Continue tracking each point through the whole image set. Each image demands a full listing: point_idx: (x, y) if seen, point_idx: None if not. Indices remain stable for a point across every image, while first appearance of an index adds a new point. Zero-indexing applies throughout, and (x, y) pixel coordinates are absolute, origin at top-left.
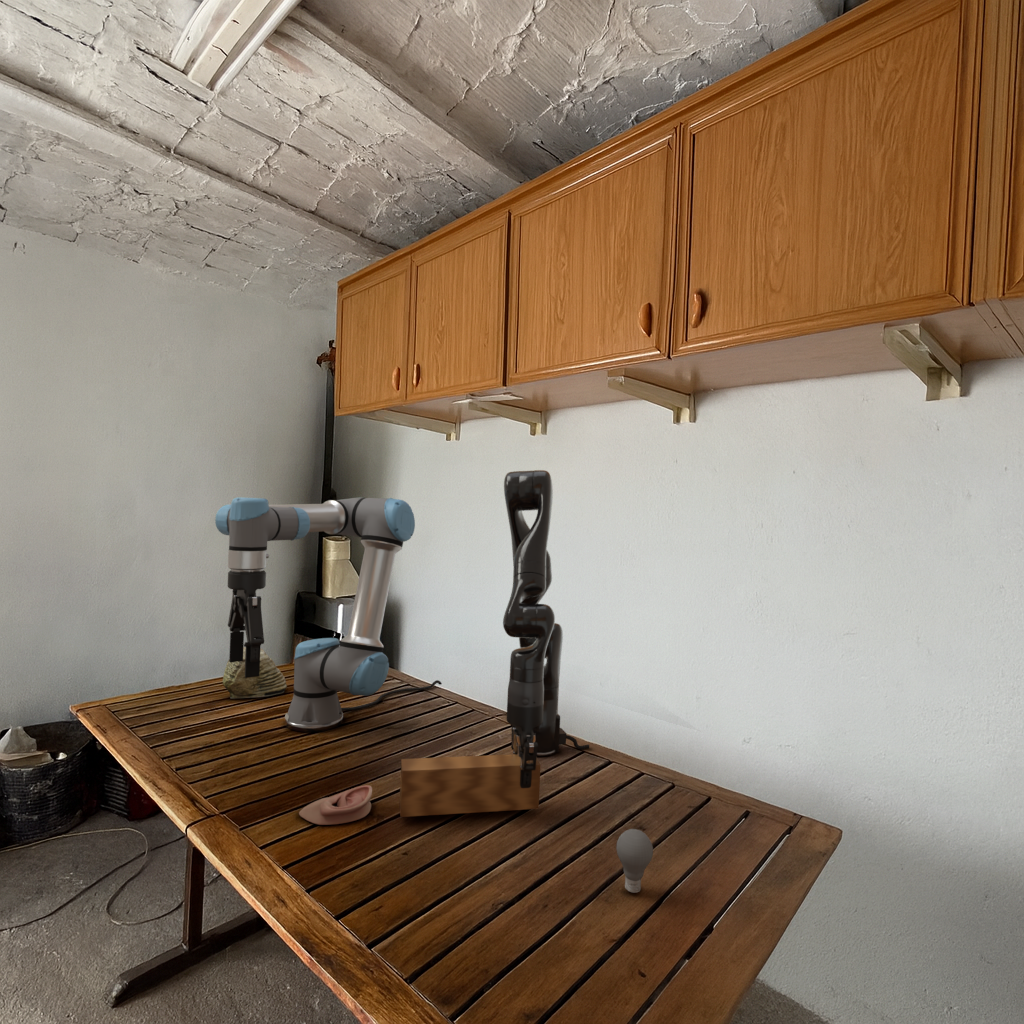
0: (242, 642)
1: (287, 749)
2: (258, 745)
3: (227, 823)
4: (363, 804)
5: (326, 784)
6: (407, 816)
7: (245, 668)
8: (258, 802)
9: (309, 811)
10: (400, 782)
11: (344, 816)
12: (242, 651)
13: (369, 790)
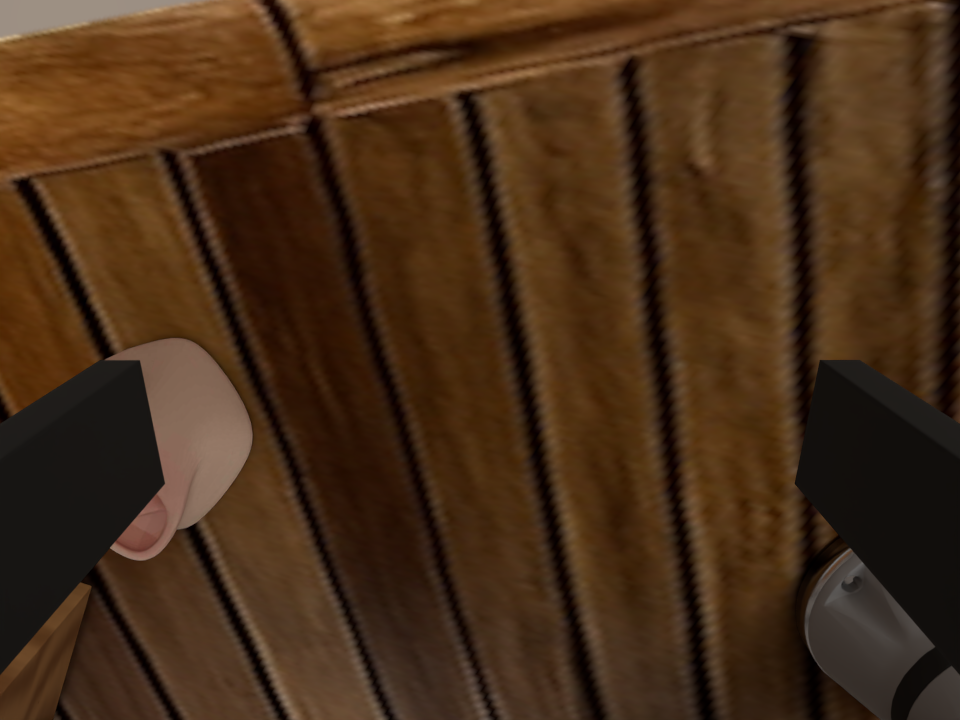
0: (936, 628)
1: (718, 450)
2: None
3: (226, 123)
4: None
5: (367, 469)
6: None
7: (58, 401)
8: (337, 252)
9: (150, 366)
10: (43, 633)
11: None
12: (857, 543)
13: (115, 547)
